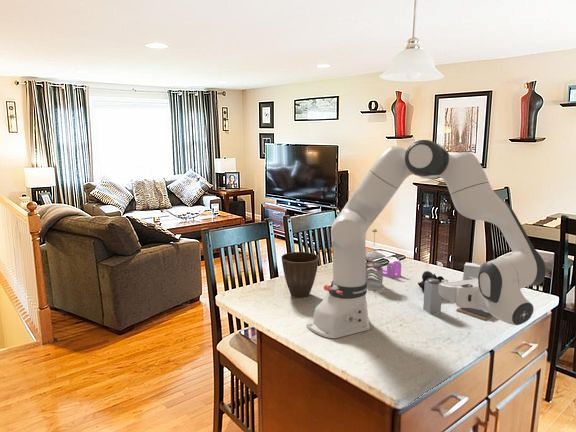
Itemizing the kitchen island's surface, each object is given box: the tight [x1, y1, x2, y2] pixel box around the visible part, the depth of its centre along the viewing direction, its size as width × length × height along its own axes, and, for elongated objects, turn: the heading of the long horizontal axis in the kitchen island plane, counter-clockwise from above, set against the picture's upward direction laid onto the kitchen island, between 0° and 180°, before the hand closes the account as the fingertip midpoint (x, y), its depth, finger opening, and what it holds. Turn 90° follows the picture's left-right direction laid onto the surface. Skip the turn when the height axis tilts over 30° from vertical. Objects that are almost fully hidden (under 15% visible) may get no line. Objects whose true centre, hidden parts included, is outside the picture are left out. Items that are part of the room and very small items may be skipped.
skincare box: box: [462, 262, 482, 280], centre depth 178 cm, size 6×4×12 cm
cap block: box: [422, 279, 443, 315], centre depth 160 cm, size 4×4×12 cm
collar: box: [455, 307, 494, 321], centre depth 160 cm, size 12×11×3 cm
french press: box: [366, 228, 386, 291], centre depth 185 cm, size 10×12×25 cm
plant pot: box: [281, 251, 320, 299], centre depth 177 cm, size 15×15×16 cm
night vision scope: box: [417, 270, 445, 292], centre depth 181 cm, size 8×18×10 cm
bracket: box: [373, 260, 402, 280], centre depth 203 cm, size 13×6×7 cm, turn 40°
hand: (455, 280), depth 147 cm, fingers open, 8 cm apart
